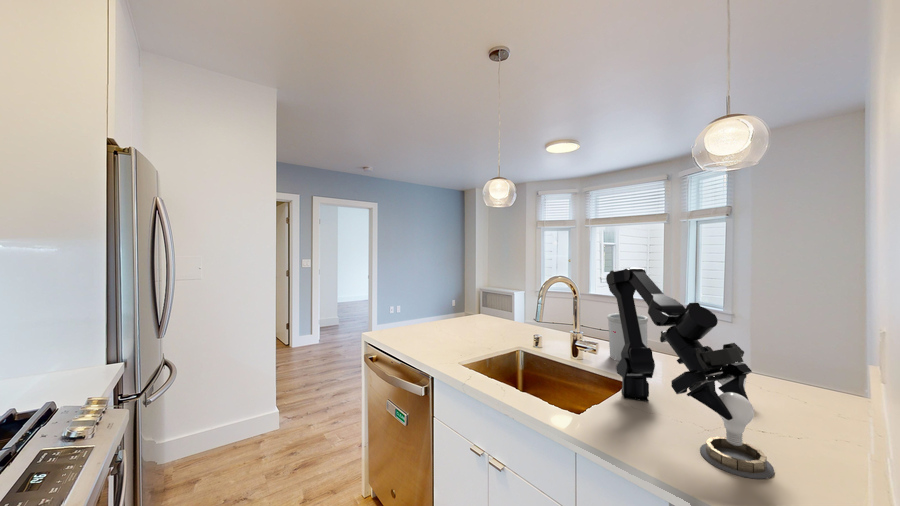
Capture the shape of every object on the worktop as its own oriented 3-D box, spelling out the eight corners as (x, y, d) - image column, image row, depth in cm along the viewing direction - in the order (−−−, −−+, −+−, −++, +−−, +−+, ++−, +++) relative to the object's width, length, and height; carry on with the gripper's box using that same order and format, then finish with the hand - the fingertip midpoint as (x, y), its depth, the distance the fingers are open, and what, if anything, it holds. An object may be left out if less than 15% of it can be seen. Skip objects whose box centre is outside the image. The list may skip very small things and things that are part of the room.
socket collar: (716, 467, 70) (716, 457, 70) (700, 442, 79) (700, 433, 79) (776, 477, 66) (776, 467, 66) (752, 450, 75) (752, 441, 75)
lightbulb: (747, 440, 74) (747, 390, 74) (759, 456, 69) (759, 402, 68) (711, 434, 77) (711, 385, 77) (720, 449, 71) (719, 396, 71)
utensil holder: (614, 363, 135) (613, 319, 135) (603, 352, 150) (603, 312, 150) (654, 365, 133) (654, 320, 133) (639, 353, 148) (639, 313, 147)
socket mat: (711, 471, 69) (711, 469, 69) (692, 440, 80) (692, 438, 80) (787, 484, 65) (787, 482, 65) (756, 450, 76) (756, 448, 76)
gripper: (684, 334, 73) (743, 409, 63) (742, 327, 79) (804, 393, 69) (651, 360, 81) (699, 430, 70) (706, 351, 87) (757, 414, 77)
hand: (741, 416), depth 71 cm, fingers closed on lightbulb, 6 cm apart
